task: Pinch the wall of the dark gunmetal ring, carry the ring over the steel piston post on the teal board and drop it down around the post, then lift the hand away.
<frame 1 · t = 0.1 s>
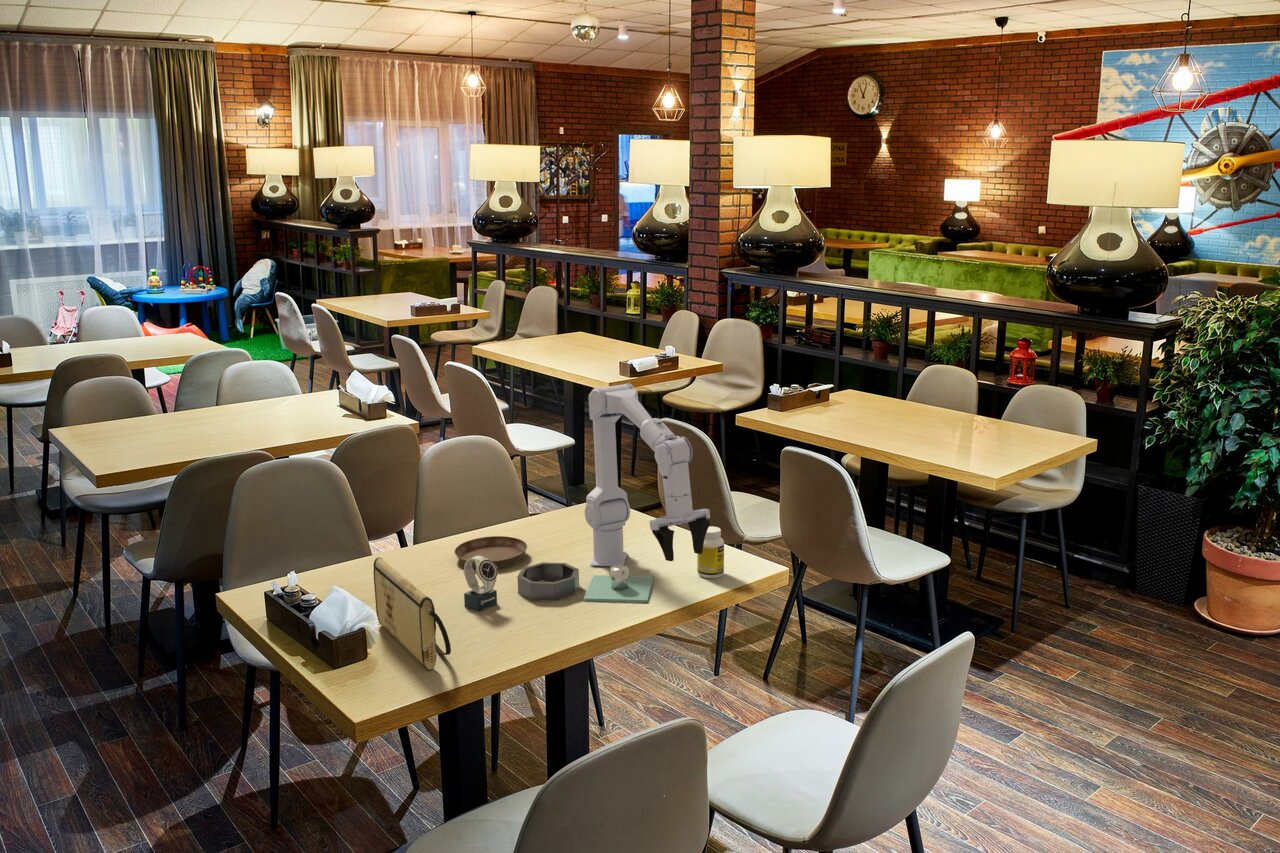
hand: (684, 556, 229), 11 cm above the table, tool pointing down, fingers open, 7 cm apart
piston post: (619, 577, 238), on the teal board, point 3 cm above the table
watch: (481, 606, 232), on the table
clutch purse: (415, 644, 213), on the table
plant saucer: (491, 560, 260), on the table
pill bottle: (710, 575, 248), on the table
gunmetal ring: (548, 589, 240), on the table
teal board: (619, 589, 239), on the table
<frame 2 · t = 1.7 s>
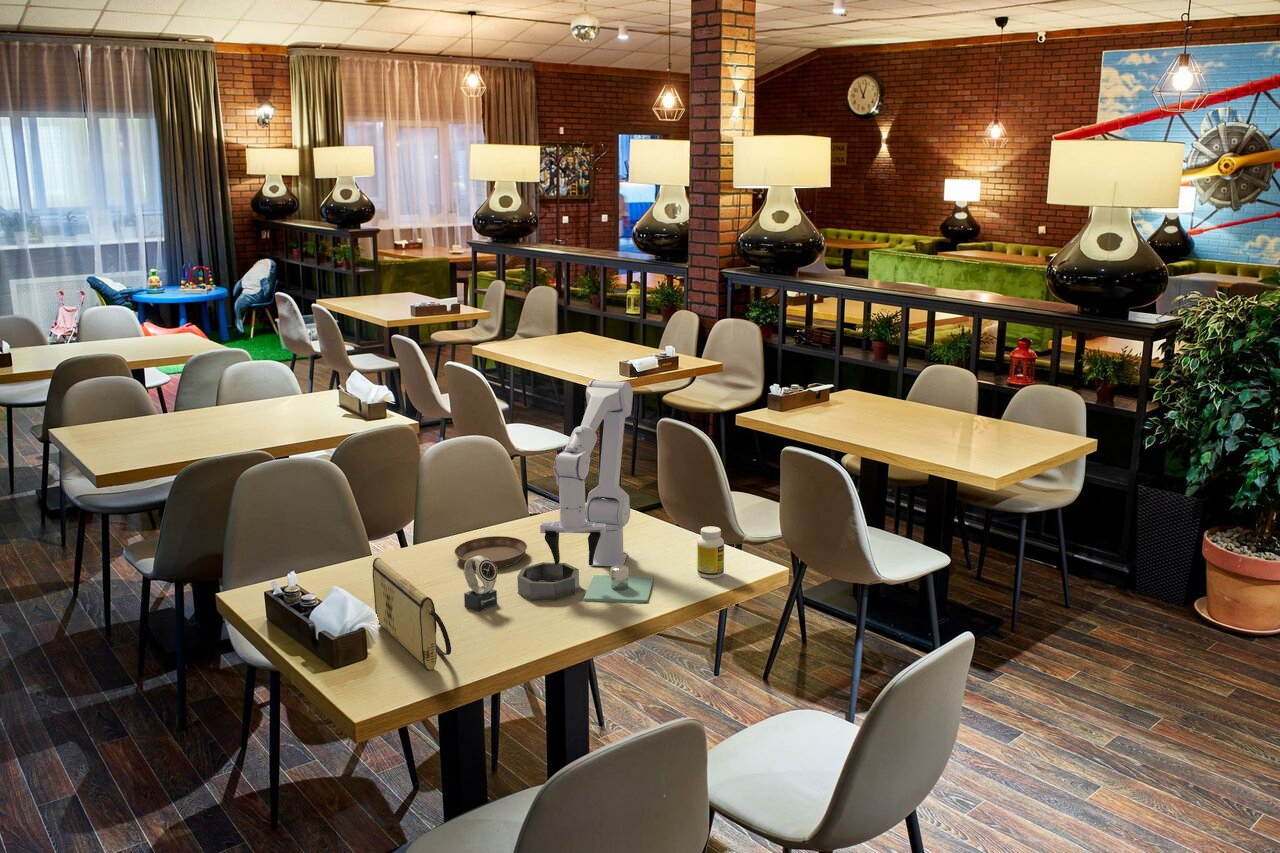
hand: (574, 563, 238), 6 cm above the table, tool pointing down, fingers open, 7 cm apart
nothing on the table moved.
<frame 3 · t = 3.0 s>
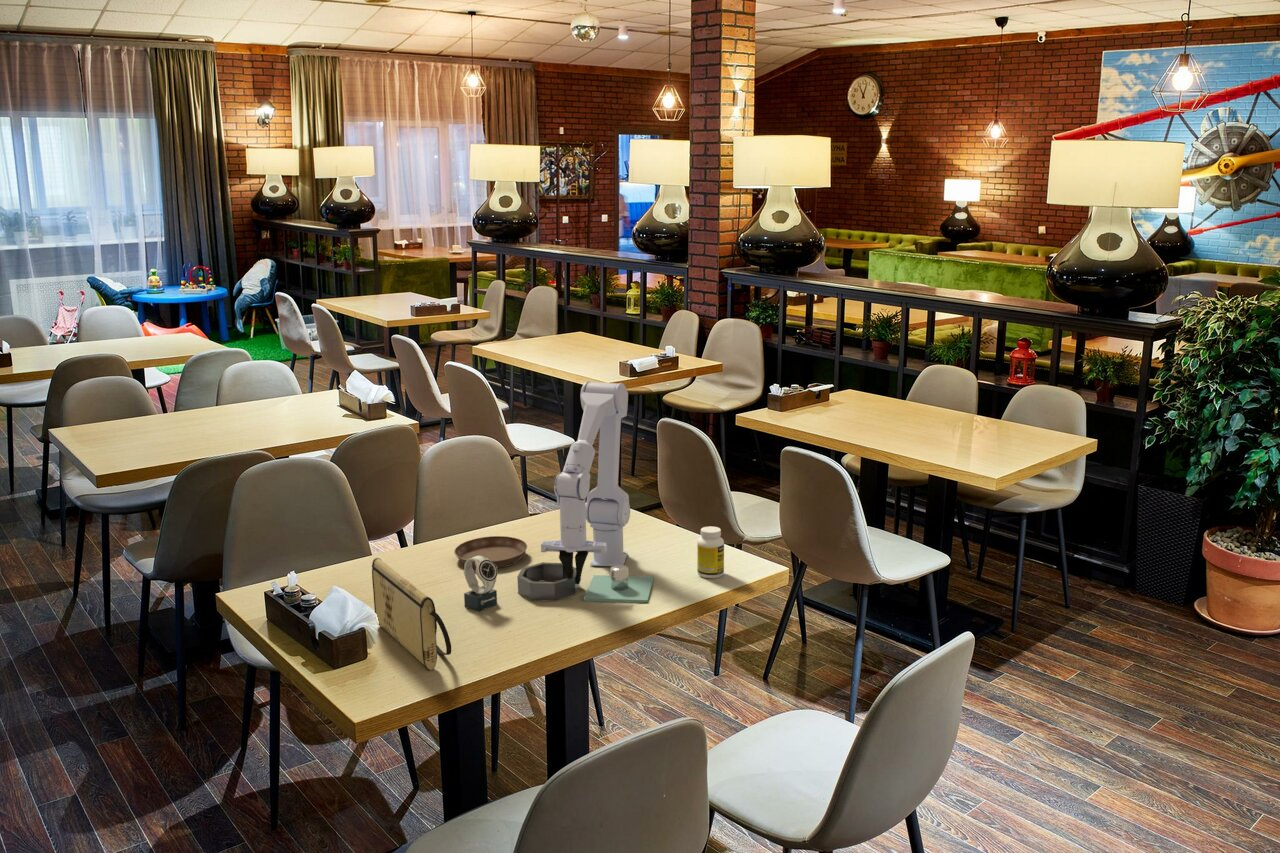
hand: (574, 582, 239), 2 cm above the table, tool pointing down, fingers closed on gunmetal ring
gunmetal ring: (548, 589, 240), on the table, touching gripper
everything else where it was.
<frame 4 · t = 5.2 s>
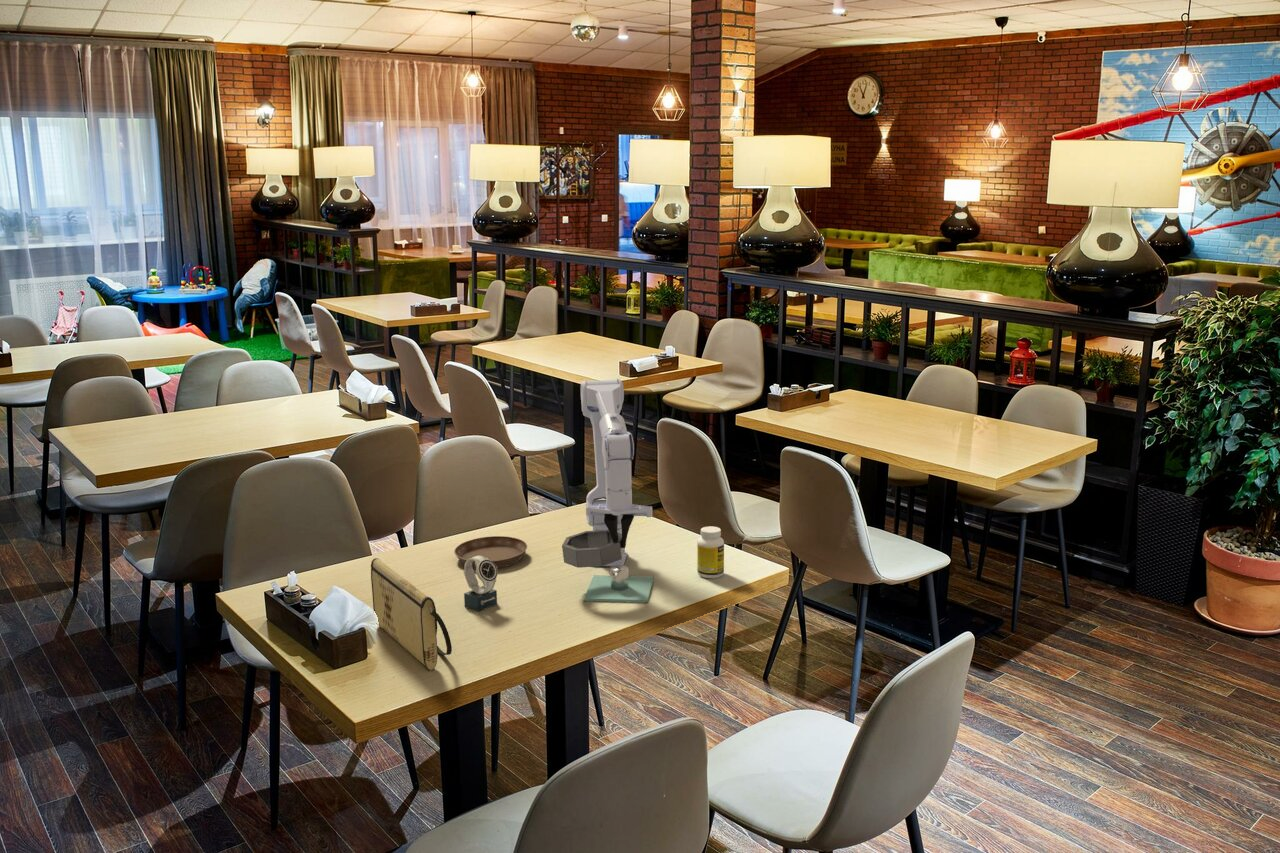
hand: (619, 546, 236), 10 cm above the table, tool pointing down, fingers closed on gunmetal ring
gunmetal ring: (594, 556, 238), point 8 cm above the table, tilted 5°, touching gripper
everything else where it was.
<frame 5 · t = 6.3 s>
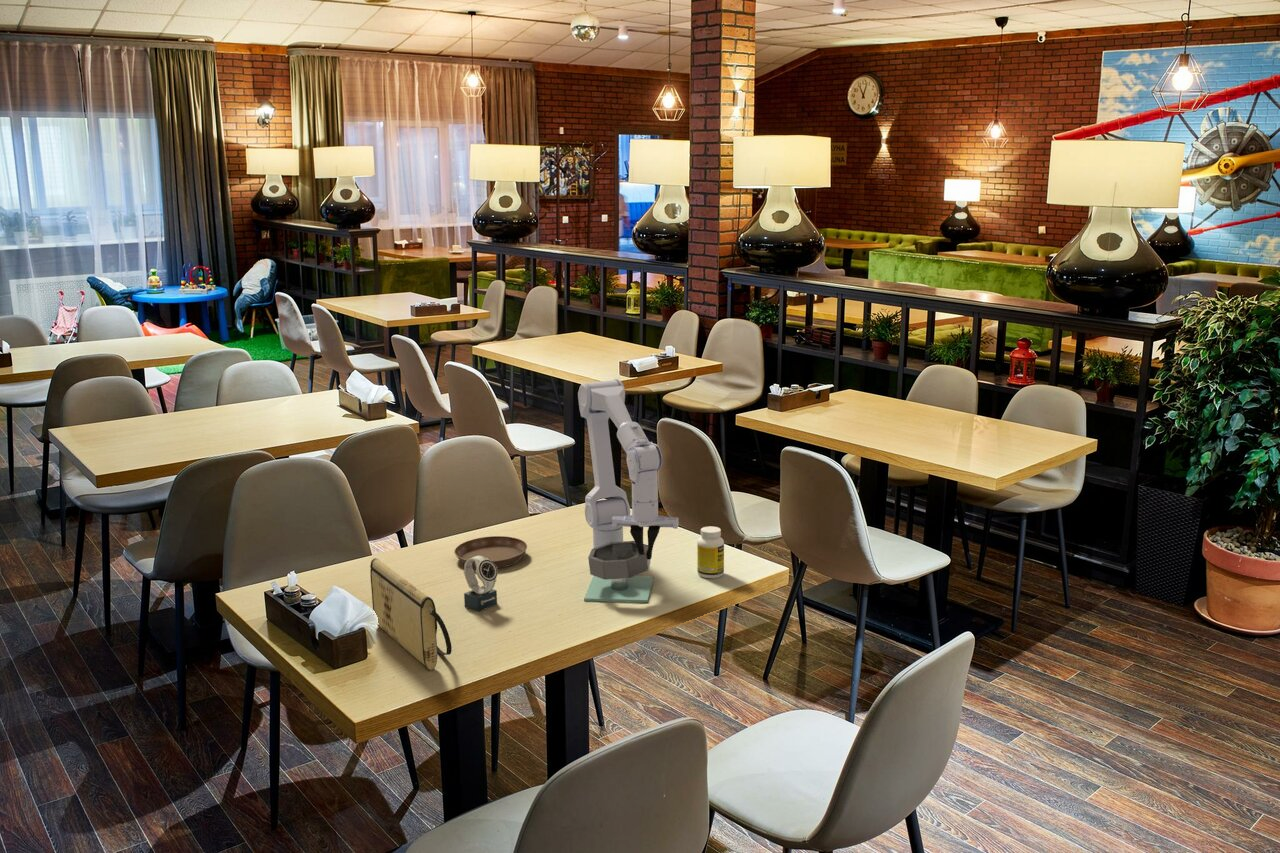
hand: (645, 557, 237), 8 cm above the table, tool pointing down, fingers closed on gunmetal ring
gunmetal ring: (620, 568, 238), point 5 cm above the table, tilted 5°, touching gripper
everything else where it was.
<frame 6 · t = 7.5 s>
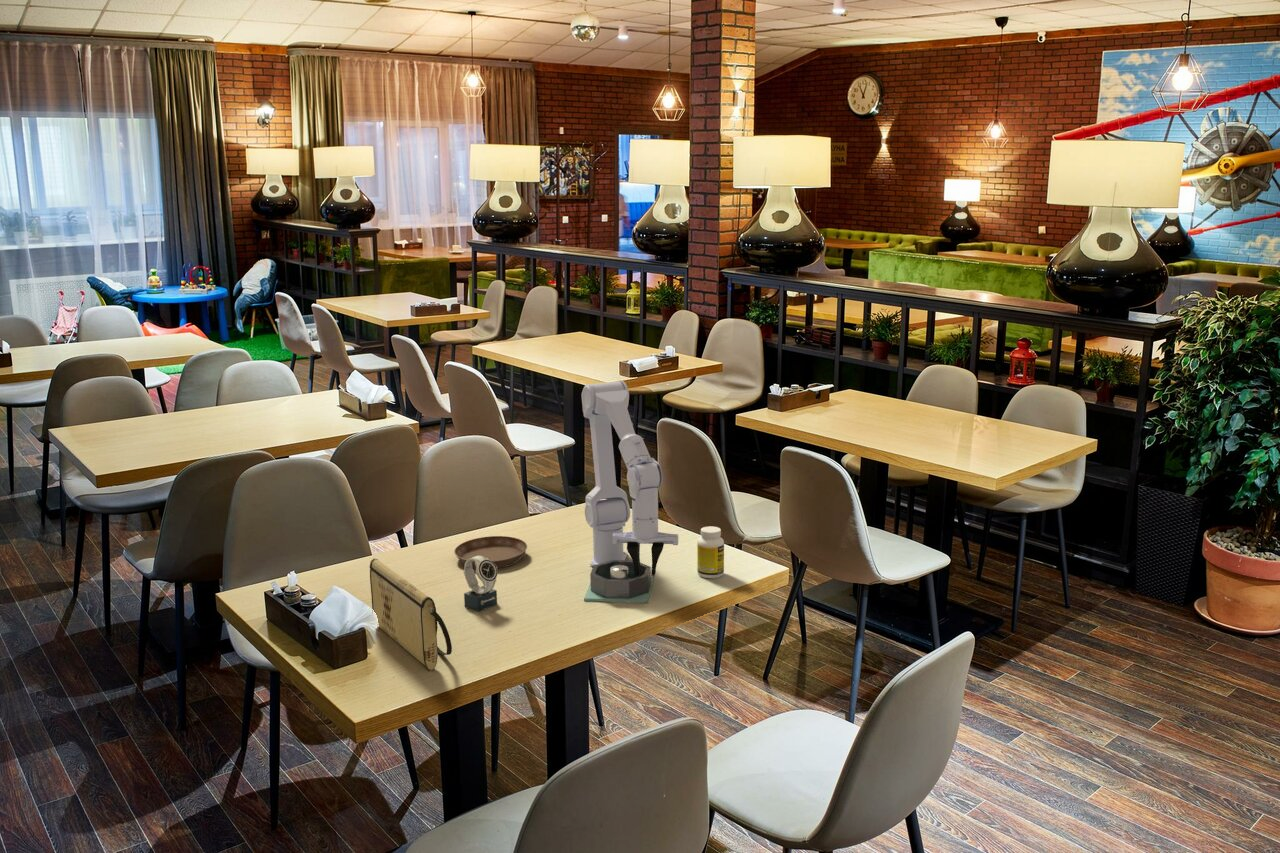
hand: (645, 574, 238), 4 cm above the table, tool pointing down, fingers open, 3 cm apart
gunmetal ring: (621, 587, 239), point 1 cm above the table, touching teal board
everything else where it was.
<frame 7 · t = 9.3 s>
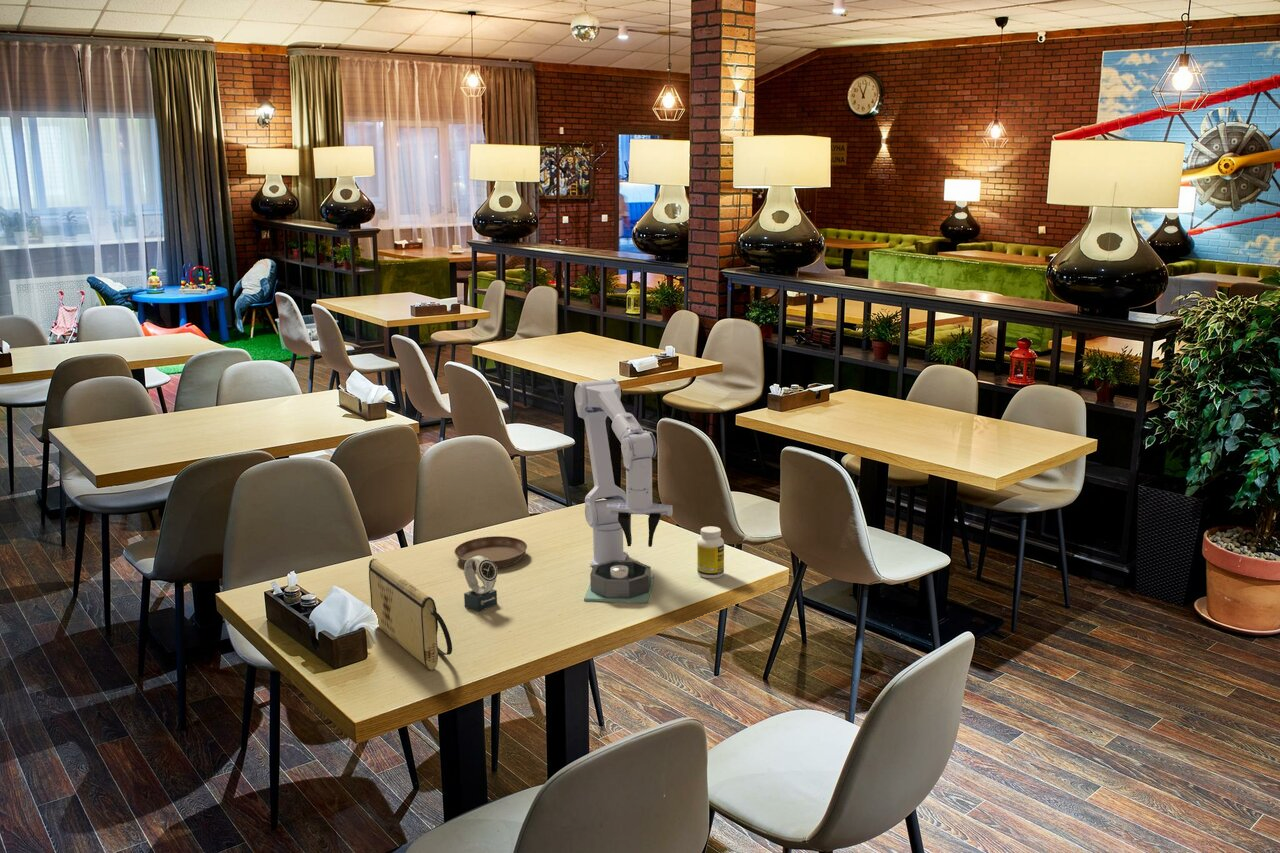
hand: (639, 545, 237), 10 cm above the table, tool pointing down, fingers open, 4 cm apart
nothing on the table moved.
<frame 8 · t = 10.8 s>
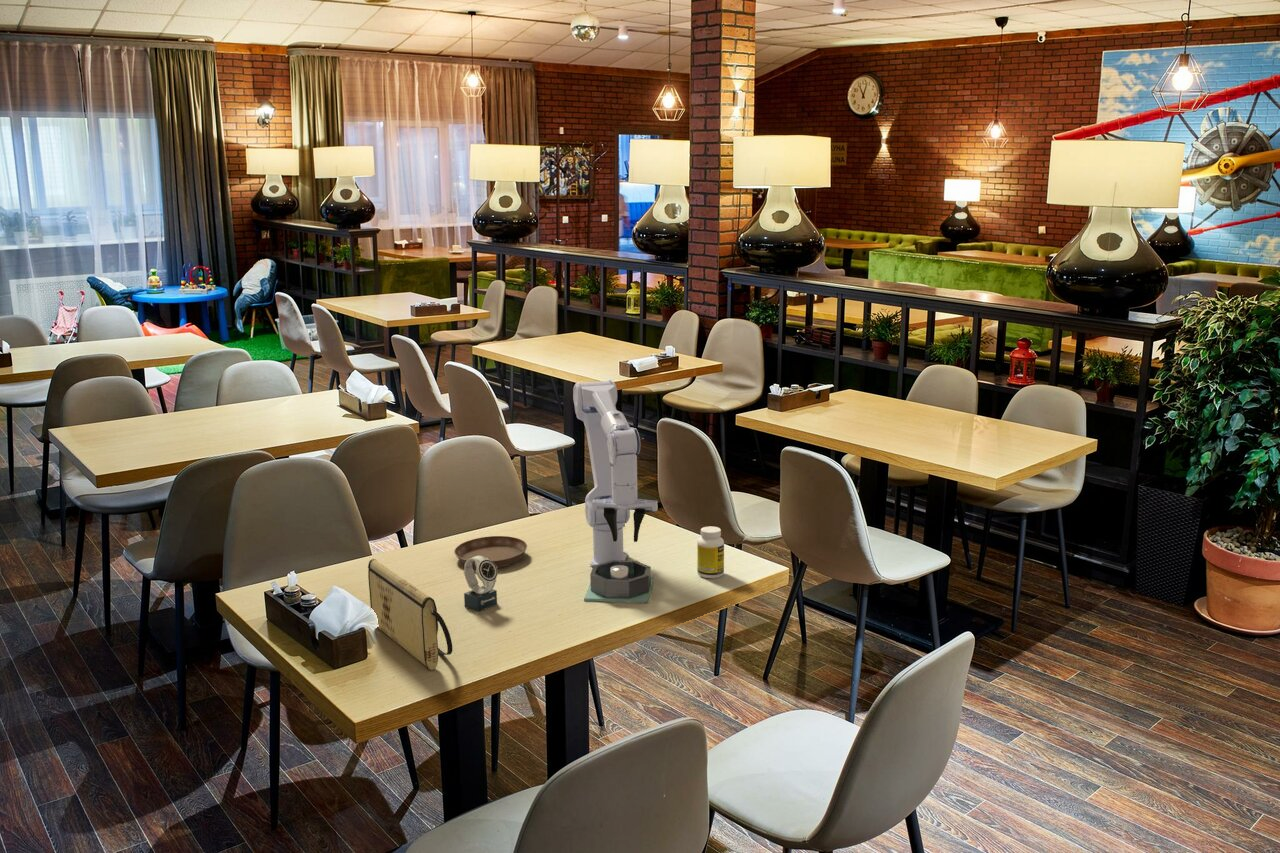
hand: (625, 540, 240), 10 cm above the table, tool pointing down, fingers open, 4 cm apart
nothing on the table moved.
at the end: gunmetal ring 0.3 cm off-centre on the piston post, point 0.6 cm above the piston post's base; gunmetal ring tilted 0°; the gripper is holding nothing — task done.
